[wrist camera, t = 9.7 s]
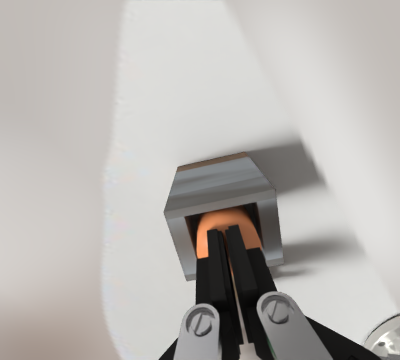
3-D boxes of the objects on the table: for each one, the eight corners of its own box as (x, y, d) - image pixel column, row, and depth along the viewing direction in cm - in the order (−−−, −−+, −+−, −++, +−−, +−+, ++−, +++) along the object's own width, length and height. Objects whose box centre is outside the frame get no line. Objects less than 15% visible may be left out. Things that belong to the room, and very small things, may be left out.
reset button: (254, 240, 14) (265, 269, 12) (203, 249, 14) (204, 280, 12) (246, 194, 13) (256, 217, 11) (191, 206, 13) (189, 230, 11)
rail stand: (265, 281, 24) (295, 365, 16) (212, 290, 24) (218, 376, 17) (244, 151, 19) (275, 189, 11) (177, 166, 19) (163, 212, 12)
